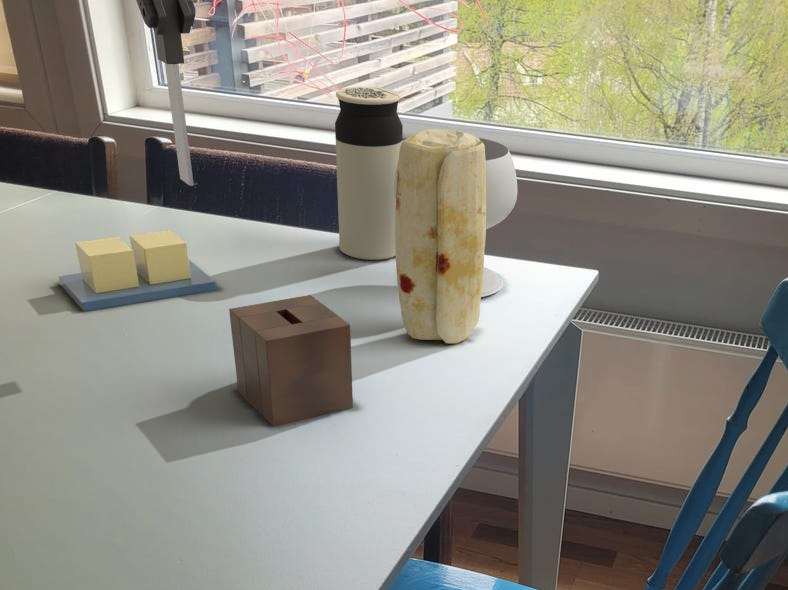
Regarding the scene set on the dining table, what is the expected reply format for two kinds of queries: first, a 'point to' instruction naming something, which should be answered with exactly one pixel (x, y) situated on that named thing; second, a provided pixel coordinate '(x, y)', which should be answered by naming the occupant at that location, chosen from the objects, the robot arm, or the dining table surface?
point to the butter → (133, 271)
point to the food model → (440, 233)
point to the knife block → (292, 359)
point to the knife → (175, 85)
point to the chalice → (494, 198)
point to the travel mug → (367, 170)
